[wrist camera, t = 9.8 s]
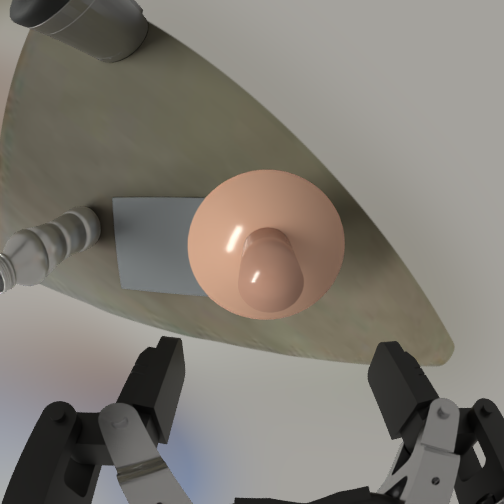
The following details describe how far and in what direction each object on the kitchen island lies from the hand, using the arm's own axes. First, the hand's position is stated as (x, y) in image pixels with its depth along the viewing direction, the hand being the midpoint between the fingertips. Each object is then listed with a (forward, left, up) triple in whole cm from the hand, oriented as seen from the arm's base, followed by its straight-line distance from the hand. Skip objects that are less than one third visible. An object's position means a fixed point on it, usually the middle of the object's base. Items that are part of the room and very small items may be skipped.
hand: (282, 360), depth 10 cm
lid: (0, 0, -14) cm, 14 cm away
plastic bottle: (+2, -26, -27) cm, 38 cm away
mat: (+5, -14, -27) cm, 31 cm away
